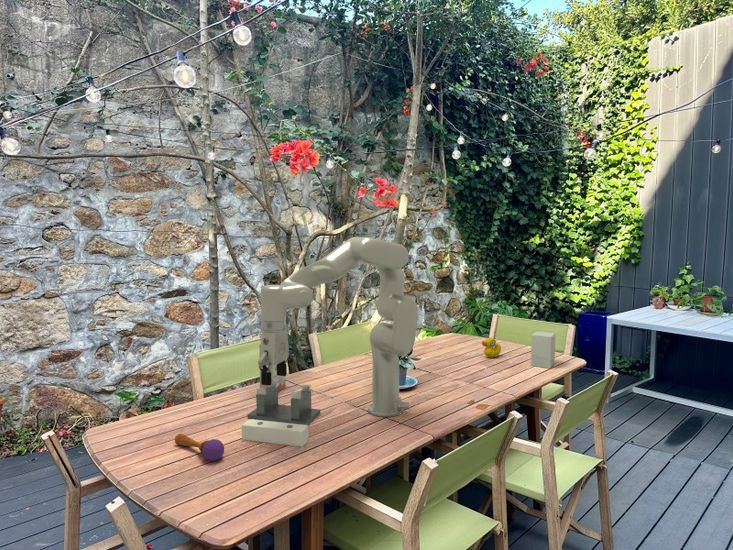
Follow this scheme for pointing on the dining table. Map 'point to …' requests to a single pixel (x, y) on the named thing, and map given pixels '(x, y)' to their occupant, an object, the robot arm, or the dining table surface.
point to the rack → (284, 406)
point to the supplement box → (543, 349)
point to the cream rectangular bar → (275, 432)
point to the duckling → (491, 348)
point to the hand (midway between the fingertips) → (274, 380)
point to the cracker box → (274, 376)
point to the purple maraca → (203, 446)
